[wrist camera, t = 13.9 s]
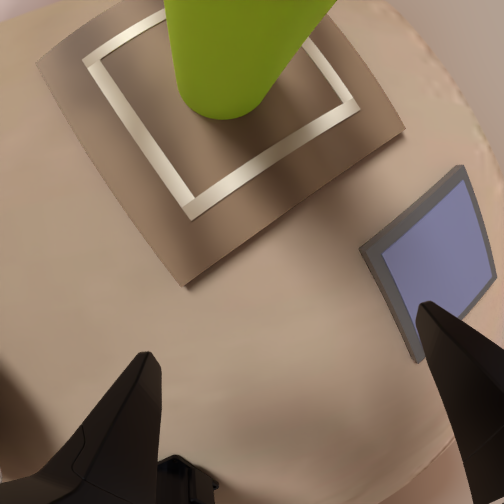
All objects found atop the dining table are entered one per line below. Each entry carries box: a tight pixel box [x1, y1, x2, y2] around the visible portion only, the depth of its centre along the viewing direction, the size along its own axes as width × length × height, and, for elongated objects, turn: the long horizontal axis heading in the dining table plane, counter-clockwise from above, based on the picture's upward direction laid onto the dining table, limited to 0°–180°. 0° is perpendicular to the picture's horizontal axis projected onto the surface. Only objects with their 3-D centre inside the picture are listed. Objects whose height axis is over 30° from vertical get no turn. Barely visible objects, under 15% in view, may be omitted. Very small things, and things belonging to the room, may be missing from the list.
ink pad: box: [359, 165, 497, 364], centre depth 23 cm, size 13×13×1 cm
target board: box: [36, 0, 406, 287], centre depth 18 cm, size 20×20×1 cm
